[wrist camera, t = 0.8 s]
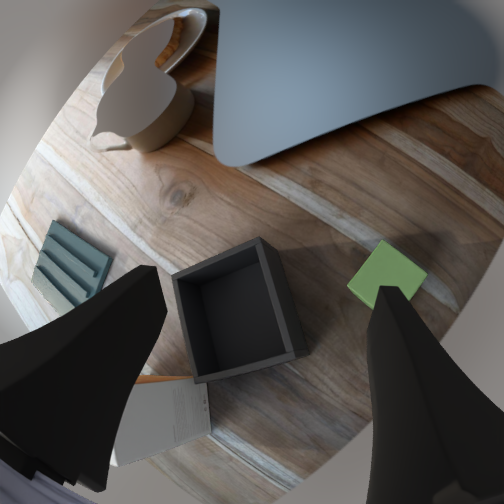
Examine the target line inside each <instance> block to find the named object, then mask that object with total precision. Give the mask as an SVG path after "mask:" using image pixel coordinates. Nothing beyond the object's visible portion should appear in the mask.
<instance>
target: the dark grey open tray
mask: <svg viewBox="0 0 504 504" xmlns="http://www.w3.org/2000/svg"><path fill="white" fill-rule="evenodd" d="M171 277H172V283H173V288H174V293H175V299H176V304H177V309H178V314H179V318H180V323H181V328H182V332H183V337H184V341H185V346H186V350H187V355H188V359H189V363H190V367H191V371H192V375H193V379H194V383H195V384H201V383H207V382H212V381H217V380H222V379H226V378H230V377H234V376H238V375H242V374H246V373H250V372H254V371H257V370H261V369H265V368H268V367H272V366H275V365H279V364H282V363H286V362H289V361H292V360H296V359H299V358H302V357H305V356H309V355H310V354H309V351H308V347H307V344H306V341H305V337H304V334H303V331H302V327H301V324H300V321H299V318H298V314H297V311H296V308H295V305H294V301H293V298H292V295H291V292H290V289H289V285H288V282H287V279H286V276H285V273H284V269H283V266H282V263H281V260H280V257H279V254H278V251H277V250H276V249H275V248H274V247H272V246H271V245H270V244H269V243H267V242H266V241H265V240H264V239H262V238H261V237H257V238H255V239H252V240H250V241H248V242H245V243H243V244H241V245H238V246H236V247H234V248H232V249H229V250H227V251H225V252H223V253H220V254H218V255H216V256H213V257H211V258H209V259H207V260H204V261H202V262H200V263H198V264H195V265H193V266H191V267H189V268H186V269H184V270H182V271H180V272H177V273H175V274H173V275H171Z"/></svg>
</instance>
